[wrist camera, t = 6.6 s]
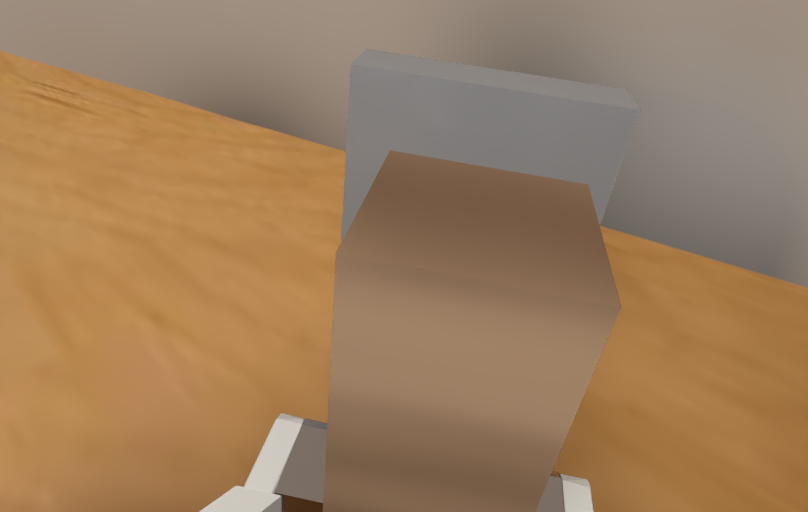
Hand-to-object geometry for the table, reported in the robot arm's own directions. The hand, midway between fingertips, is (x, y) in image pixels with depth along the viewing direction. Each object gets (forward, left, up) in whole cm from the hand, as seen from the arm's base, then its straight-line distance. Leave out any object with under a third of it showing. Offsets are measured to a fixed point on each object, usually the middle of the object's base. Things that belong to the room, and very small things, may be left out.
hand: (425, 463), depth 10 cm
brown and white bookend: (-2, -2, -7) cm, 7 cm away
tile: (-6, -8, -7) cm, 12 cm away
